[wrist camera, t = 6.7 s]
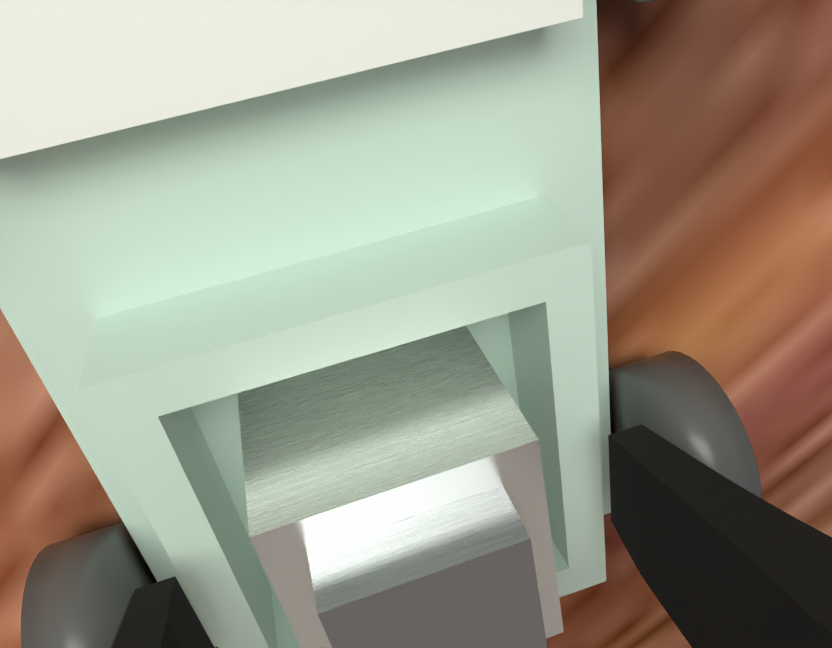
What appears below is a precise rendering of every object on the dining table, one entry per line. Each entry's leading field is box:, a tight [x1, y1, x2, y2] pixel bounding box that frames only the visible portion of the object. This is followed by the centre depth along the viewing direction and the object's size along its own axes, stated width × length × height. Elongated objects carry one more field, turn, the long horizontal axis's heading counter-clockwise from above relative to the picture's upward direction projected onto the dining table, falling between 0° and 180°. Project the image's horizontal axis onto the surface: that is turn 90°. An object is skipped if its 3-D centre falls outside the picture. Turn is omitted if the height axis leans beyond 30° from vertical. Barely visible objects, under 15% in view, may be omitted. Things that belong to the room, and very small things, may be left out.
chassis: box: [0, 0, 761, 648], centre depth 11 cm, size 16×13×4 cm
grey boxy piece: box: [237, 326, 564, 648], centre depth 12 cm, size 4×4×5 cm
